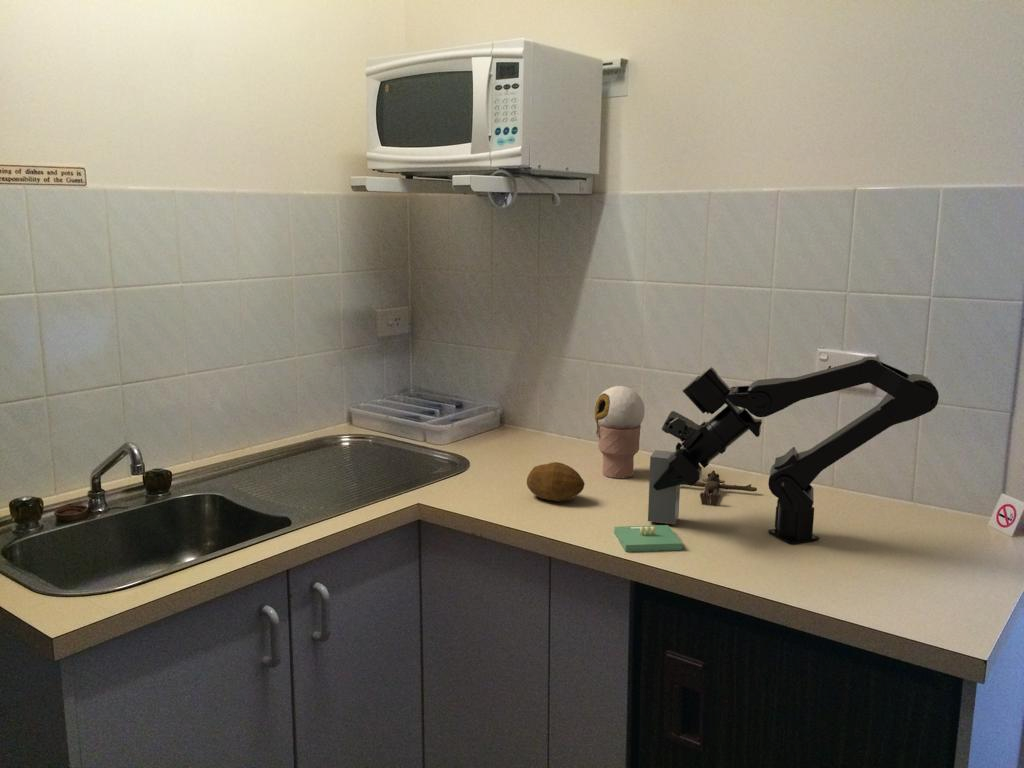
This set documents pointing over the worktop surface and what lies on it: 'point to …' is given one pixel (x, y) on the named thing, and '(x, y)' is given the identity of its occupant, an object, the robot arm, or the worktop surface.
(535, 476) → the potato
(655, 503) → the grey rectangular block
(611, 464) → the ice cream cone
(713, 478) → the brown clay figure
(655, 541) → the header board
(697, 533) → the worktop surface
